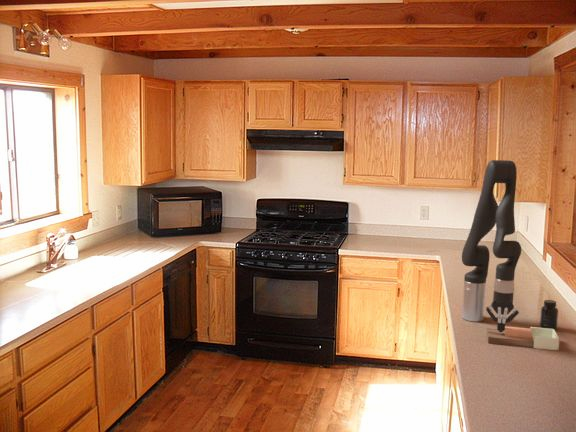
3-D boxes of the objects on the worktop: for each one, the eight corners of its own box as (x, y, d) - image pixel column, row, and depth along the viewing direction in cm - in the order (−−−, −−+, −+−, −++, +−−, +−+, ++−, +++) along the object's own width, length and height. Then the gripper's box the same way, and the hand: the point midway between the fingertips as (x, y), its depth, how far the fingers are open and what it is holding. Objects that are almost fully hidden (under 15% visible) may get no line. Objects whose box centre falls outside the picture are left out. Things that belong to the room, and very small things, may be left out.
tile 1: (503, 332, 253) (504, 326, 252) (516, 333, 251) (517, 327, 251) (505, 336, 248) (505, 330, 247) (518, 337, 247) (518, 331, 246)
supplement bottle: (543, 324, 271) (545, 297, 269) (559, 328, 266) (561, 301, 264) (536, 328, 266) (539, 301, 264) (552, 332, 261) (555, 304, 259)
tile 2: (517, 333, 251) (517, 327, 251) (530, 334, 250) (530, 328, 250) (518, 337, 247) (518, 331, 246) (531, 338, 245) (532, 332, 245)
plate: (486, 333, 257) (486, 328, 257) (529, 338, 253) (530, 332, 253) (488, 343, 247) (488, 337, 246) (533, 347, 243) (533, 341, 242)
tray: (529, 337, 254) (530, 326, 253) (552, 339, 252) (553, 329, 251) (533, 348, 242) (534, 336, 242) (558, 350, 240) (559, 339, 240)
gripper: (520, 288, 249) (517, 330, 252) (486, 285, 253) (483, 326, 255) (522, 293, 242) (518, 336, 245) (487, 290, 246) (483, 332, 248)
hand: (500, 331), depth 250 cm, fingers closed
